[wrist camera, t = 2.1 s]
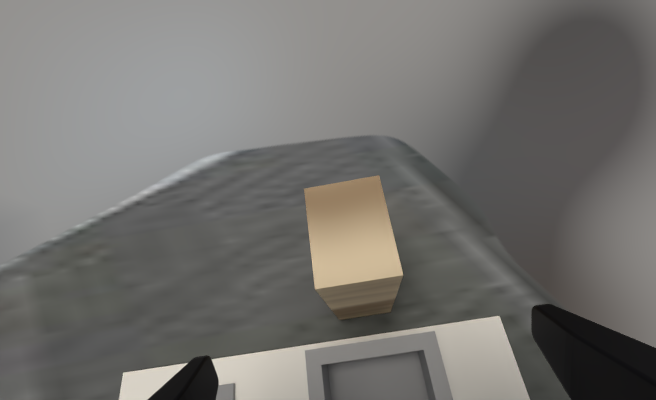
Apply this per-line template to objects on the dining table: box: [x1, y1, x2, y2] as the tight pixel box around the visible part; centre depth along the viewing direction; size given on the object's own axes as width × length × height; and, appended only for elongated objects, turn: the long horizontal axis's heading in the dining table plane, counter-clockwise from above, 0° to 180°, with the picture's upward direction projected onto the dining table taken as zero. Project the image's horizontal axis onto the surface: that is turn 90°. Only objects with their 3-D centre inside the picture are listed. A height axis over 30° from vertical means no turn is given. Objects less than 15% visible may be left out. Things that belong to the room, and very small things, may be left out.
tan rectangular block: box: [304, 176, 403, 320], centre depth 17 cm, size 4×3×10 cm
